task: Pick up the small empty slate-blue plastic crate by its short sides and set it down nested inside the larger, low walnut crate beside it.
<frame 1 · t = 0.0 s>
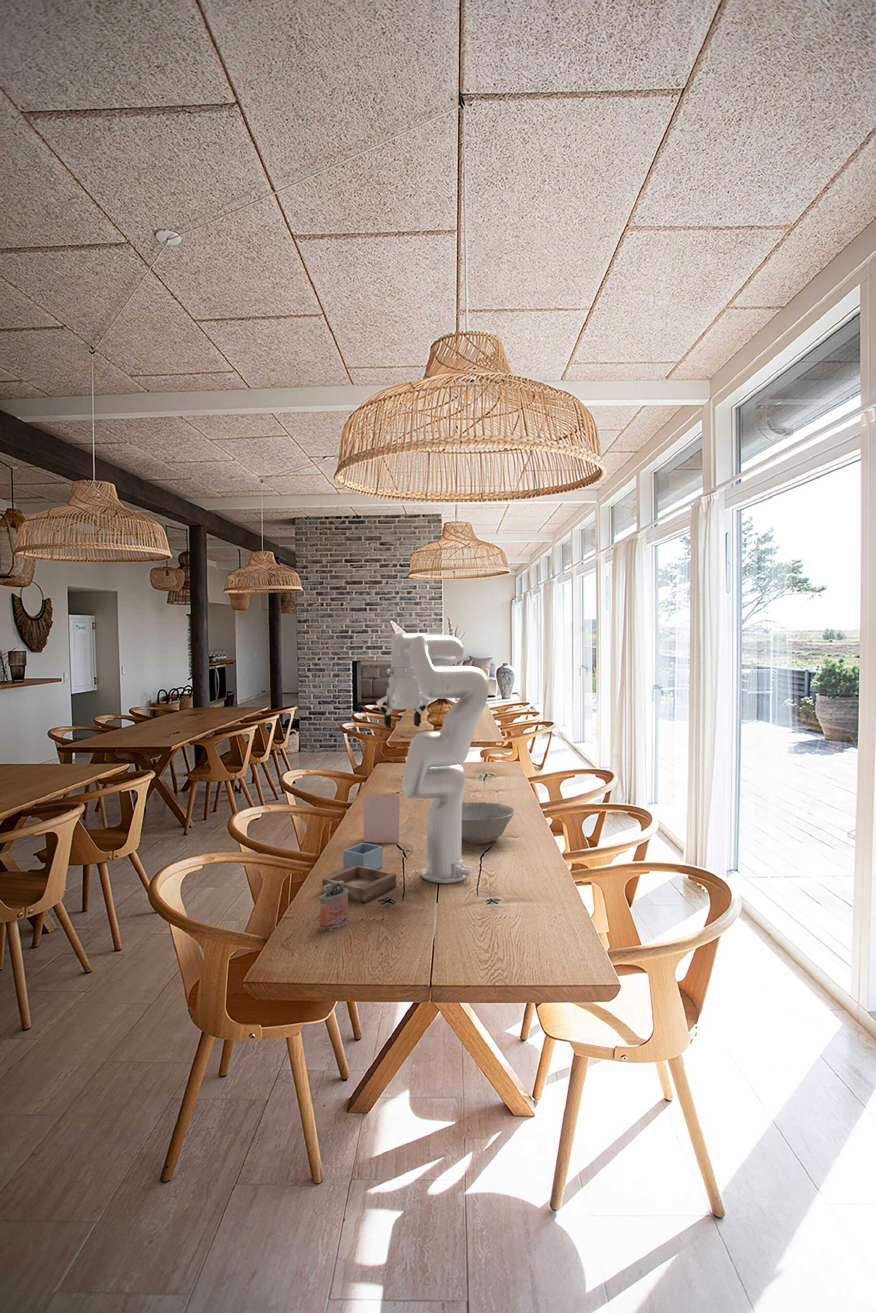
hand: (402, 726, 227), 37 cm above the table, tool pointing down, fingers open, 9 cm apart
greeting card: (379, 842, 230), on the table
lighter: (333, 926, 165), on the table
ceramic bowl: (479, 840, 232), on the table
small crate: (363, 869, 203), on the table
walnut crate: (359, 889, 187), on the table
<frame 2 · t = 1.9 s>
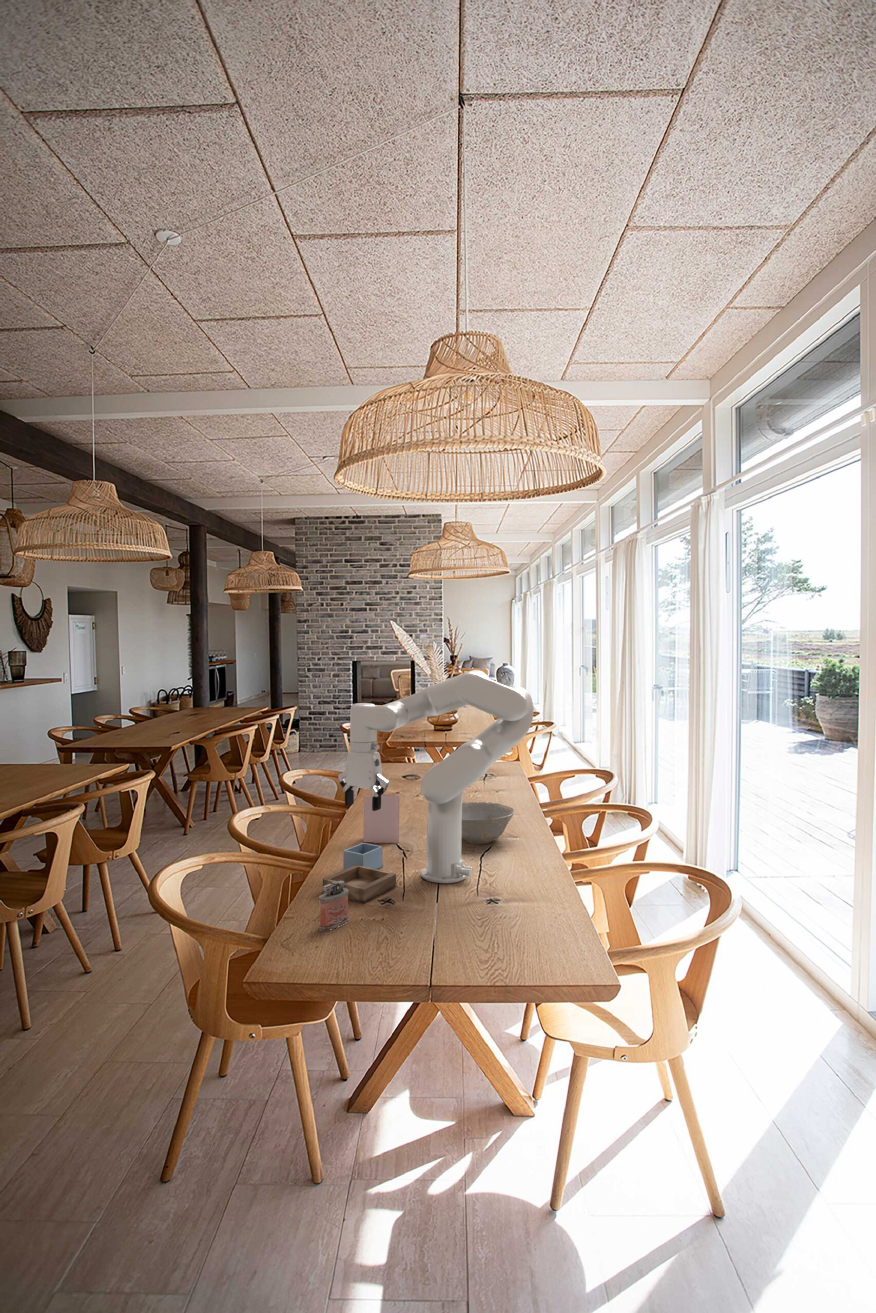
hand: (362, 807, 202), 18 cm above the table, tool pointing down, fingers open, 9 cm apart
nothing on the table moved.
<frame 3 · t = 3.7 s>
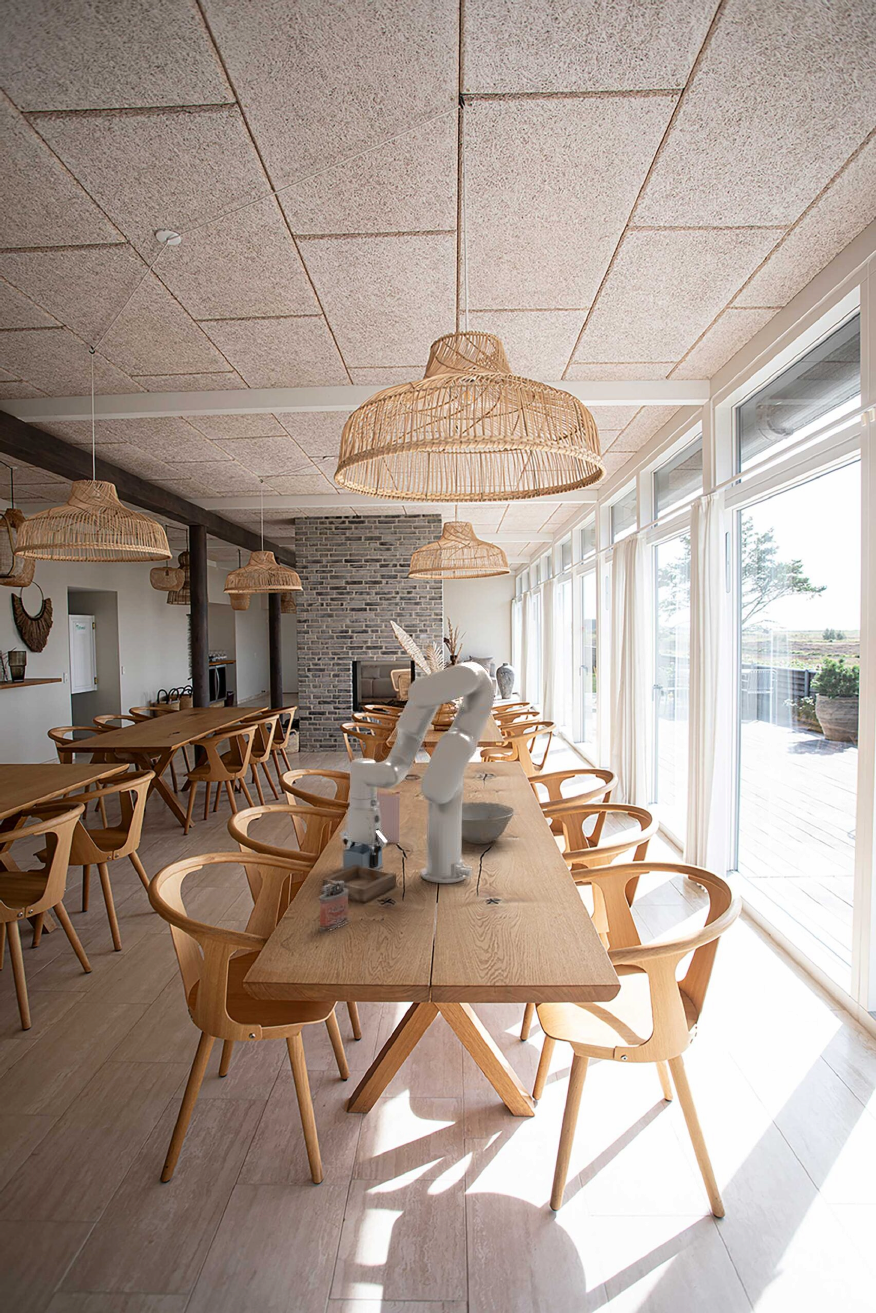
hand: (362, 864, 203), 1 cm above the table, tool pointing down, fingers closed on small crate, 7 cm apart
small crate: (362, 869, 203), on the table, touching gripper
everything else where it was.
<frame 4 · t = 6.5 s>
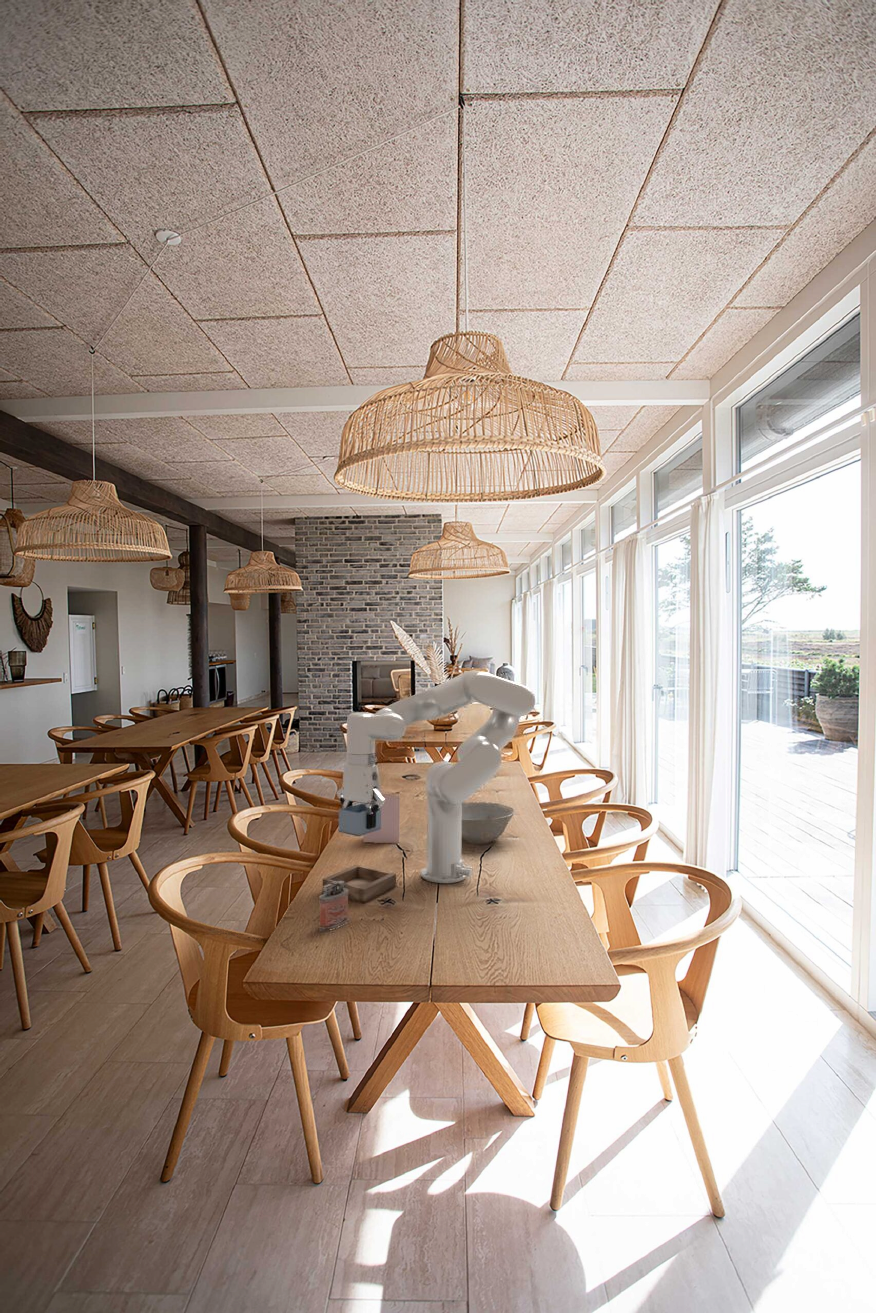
hand: (360, 825, 191), 16 cm above the table, tool pointing down, fingers closed on small crate, 7 cm apart
small crate: (359, 830, 191), point 14 cm above the table, touching gripper
everything else where it was.
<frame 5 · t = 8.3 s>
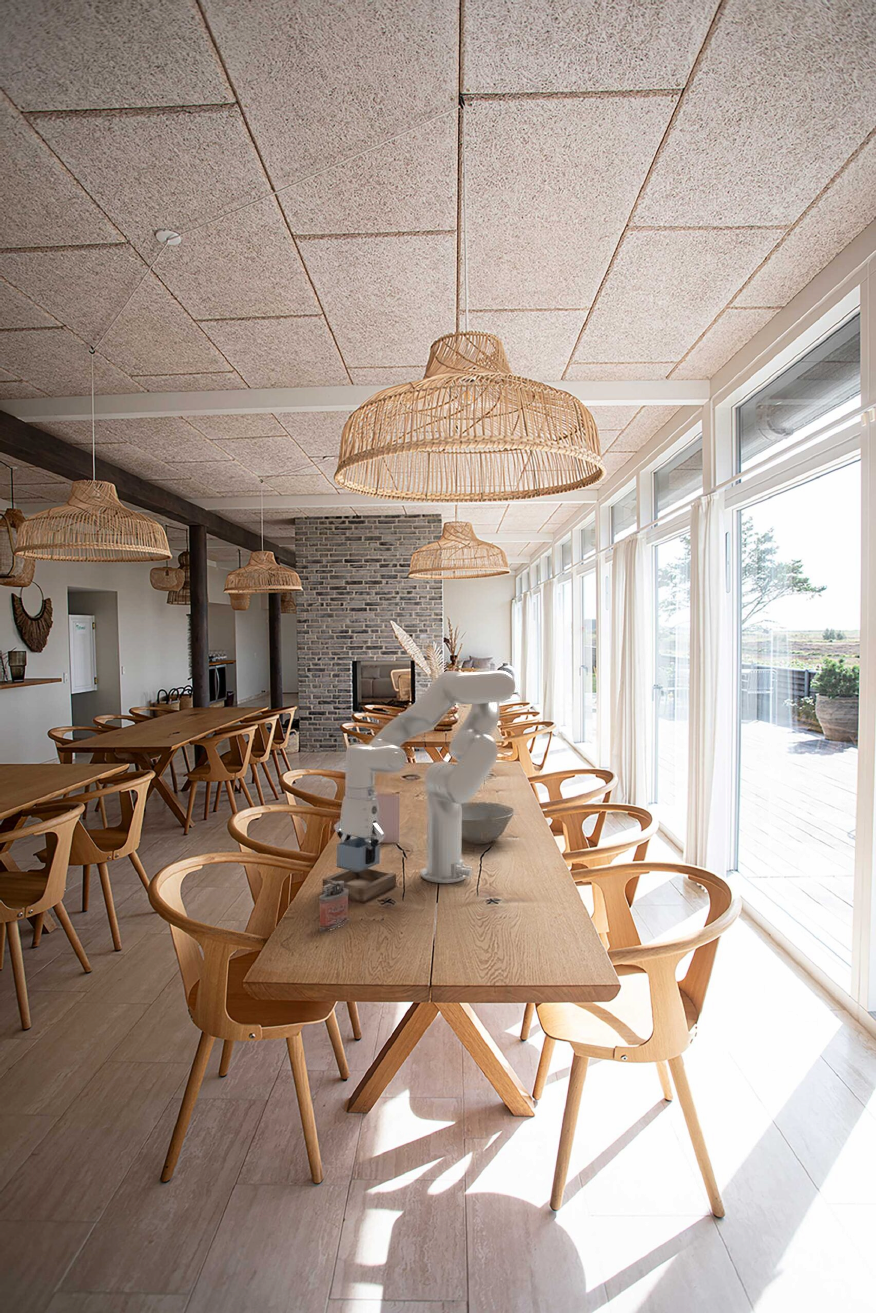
hand: (358, 859, 187), 8 cm above the table, tool pointing down, fingers closed on small crate, 7 cm apart
small crate: (358, 865, 187), point 7 cm above the table, touching gripper
everything else where it was.
when the fingers open (4 cm above the table, at t = 9.5 s): small crate drops 2 cm, resting on walnut crate.
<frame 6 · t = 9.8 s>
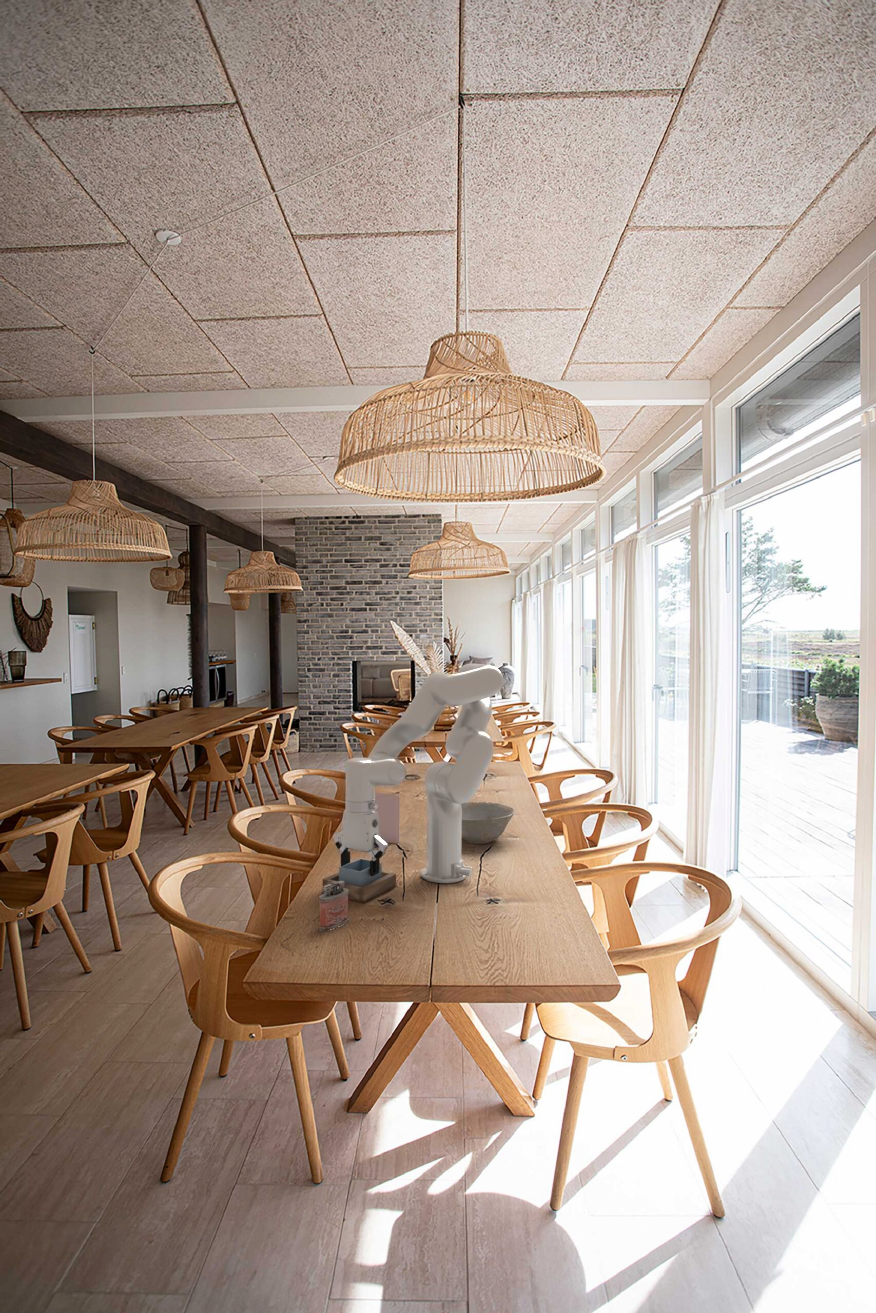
hand: (359, 870, 187), 5 cm above the table, tool pointing down, fingers open, 9 cm apart
small crate: (360, 887, 187), point 1 cm above the table, touching walnut crate
everything else where it was.
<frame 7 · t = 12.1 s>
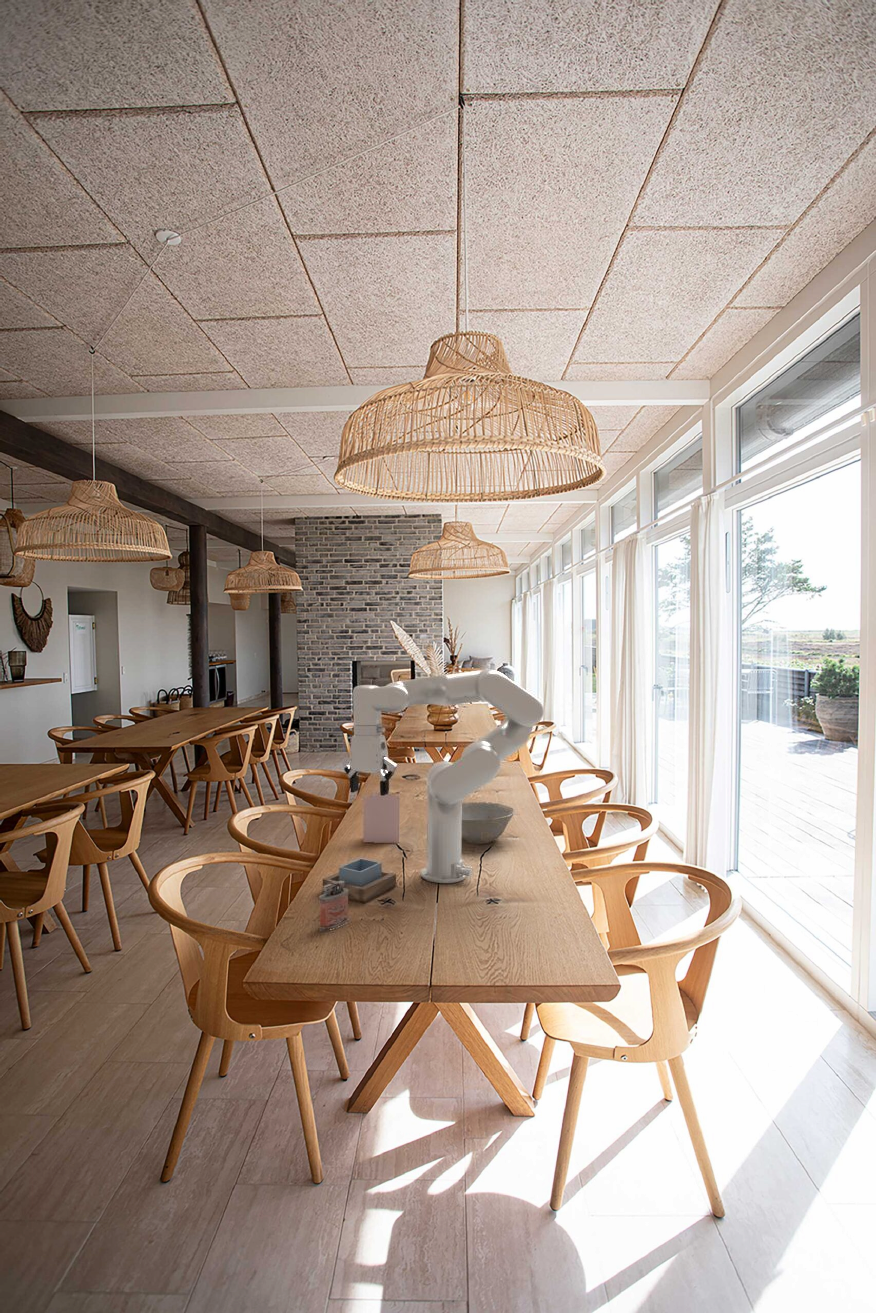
hand: (369, 793, 195), 23 cm above the table, tool pointing down, fingers open, 9 cm apart
nothing on the table moved.
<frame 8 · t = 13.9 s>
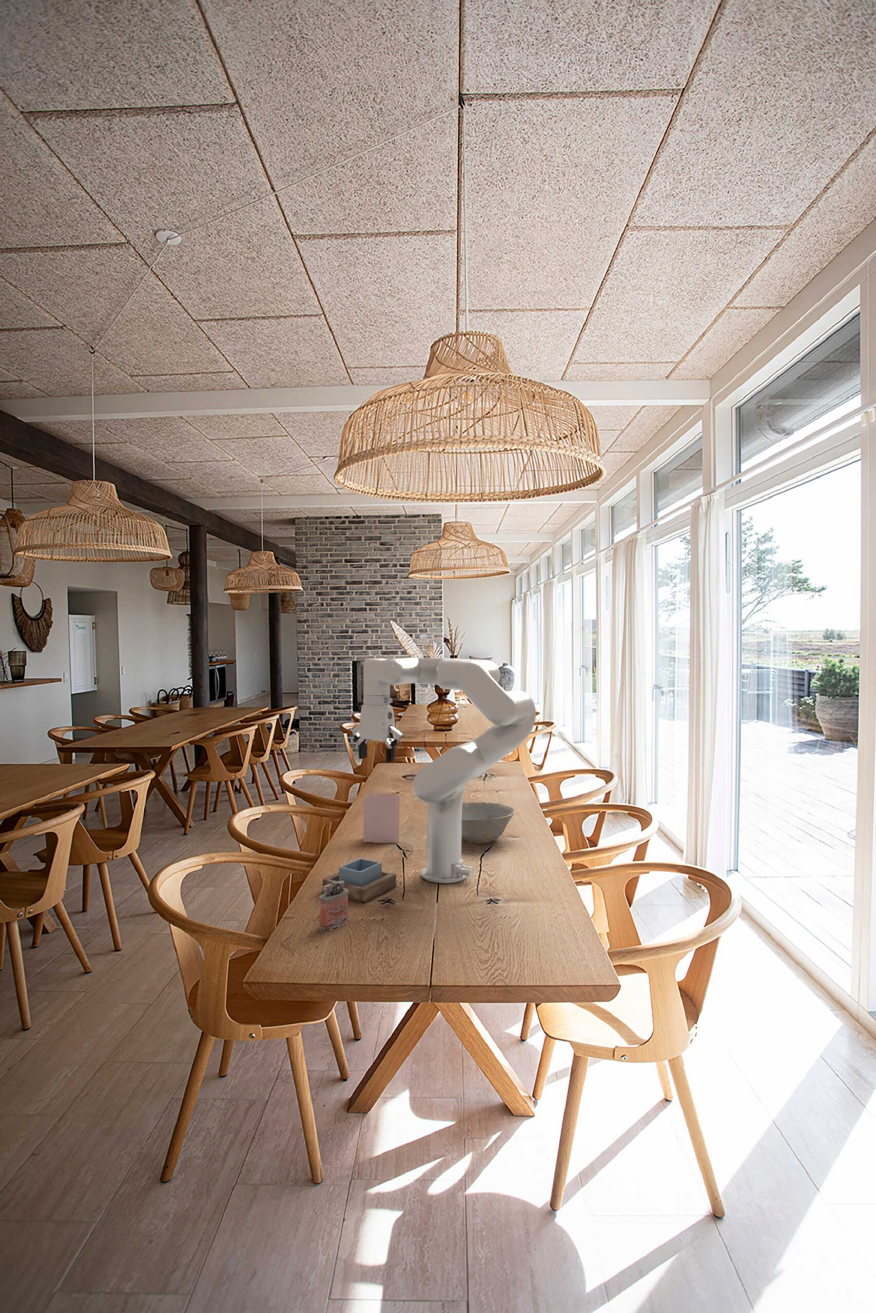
hand: (376, 760, 207), 30 cm above the table, tool pointing down, fingers open, 9 cm apart
nothing on the table moved.
at the end: small crate 0.2 cm off-centre on the walnut crate, point 0.6 cm above the walnut crate's base; small crate tilted 0°; the gripper is holding nothing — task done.
